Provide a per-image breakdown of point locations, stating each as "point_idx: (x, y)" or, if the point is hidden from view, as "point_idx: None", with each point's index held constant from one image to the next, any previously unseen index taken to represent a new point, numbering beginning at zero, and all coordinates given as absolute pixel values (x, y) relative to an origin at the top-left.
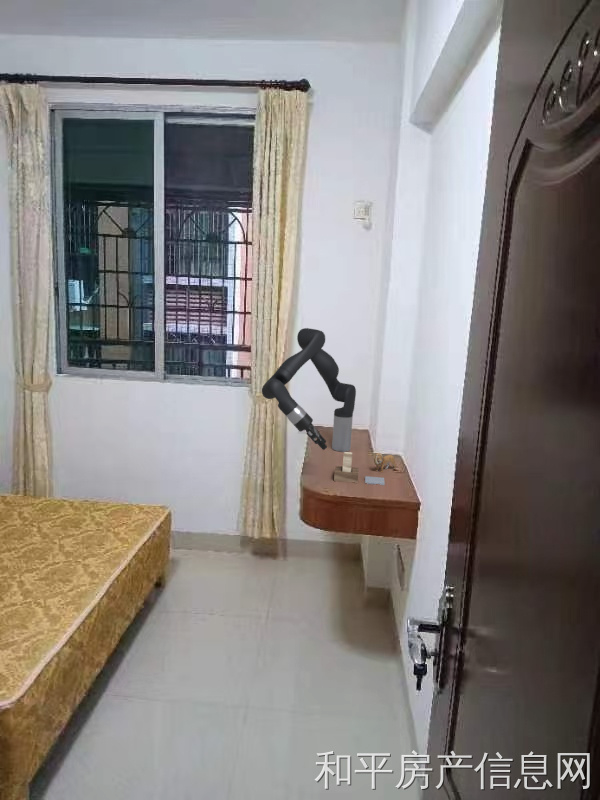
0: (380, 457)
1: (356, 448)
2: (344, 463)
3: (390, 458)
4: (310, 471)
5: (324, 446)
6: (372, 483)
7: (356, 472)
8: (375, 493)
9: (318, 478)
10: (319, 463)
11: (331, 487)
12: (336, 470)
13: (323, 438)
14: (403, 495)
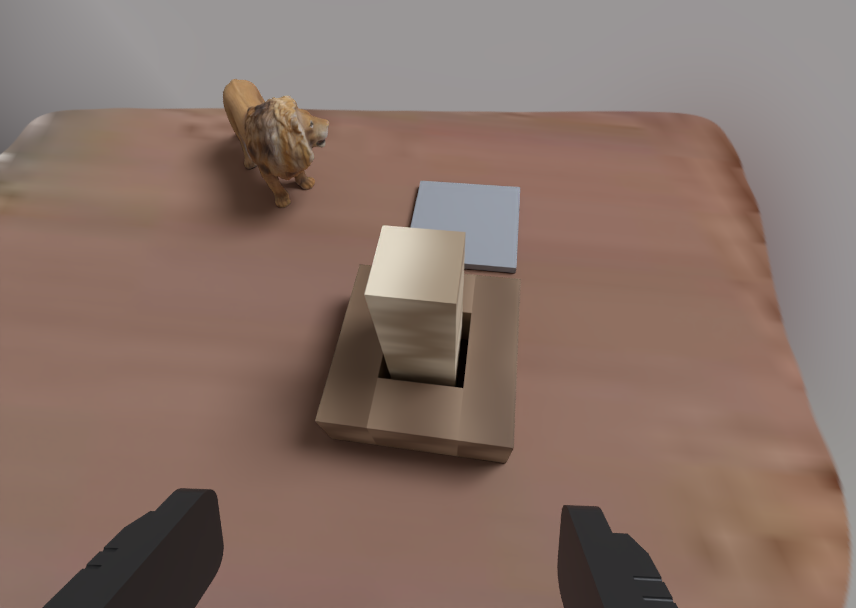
0: (308, 115)
1: None
2: (457, 336)
3: (258, 95)
4: None
5: (646, 565)
6: (517, 237)
7: (467, 286)
8: (669, 241)
9: (462, 601)
10: (49, 555)
11: (665, 496)
12: (441, 424)
13: (159, 550)
14: (645, 142)
